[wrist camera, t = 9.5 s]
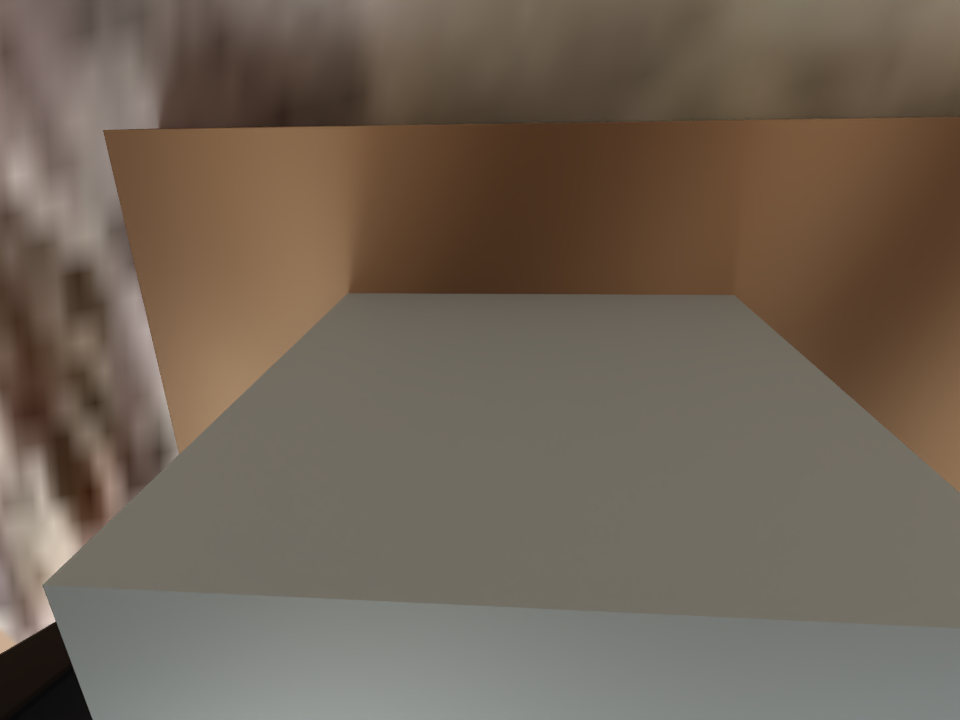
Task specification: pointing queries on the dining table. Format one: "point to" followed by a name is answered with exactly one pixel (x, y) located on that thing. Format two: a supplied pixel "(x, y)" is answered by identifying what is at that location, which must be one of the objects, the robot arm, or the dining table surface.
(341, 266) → the stand
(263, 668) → the matte gray-blue cube
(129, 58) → the dining table surface
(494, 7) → the dining table surface
